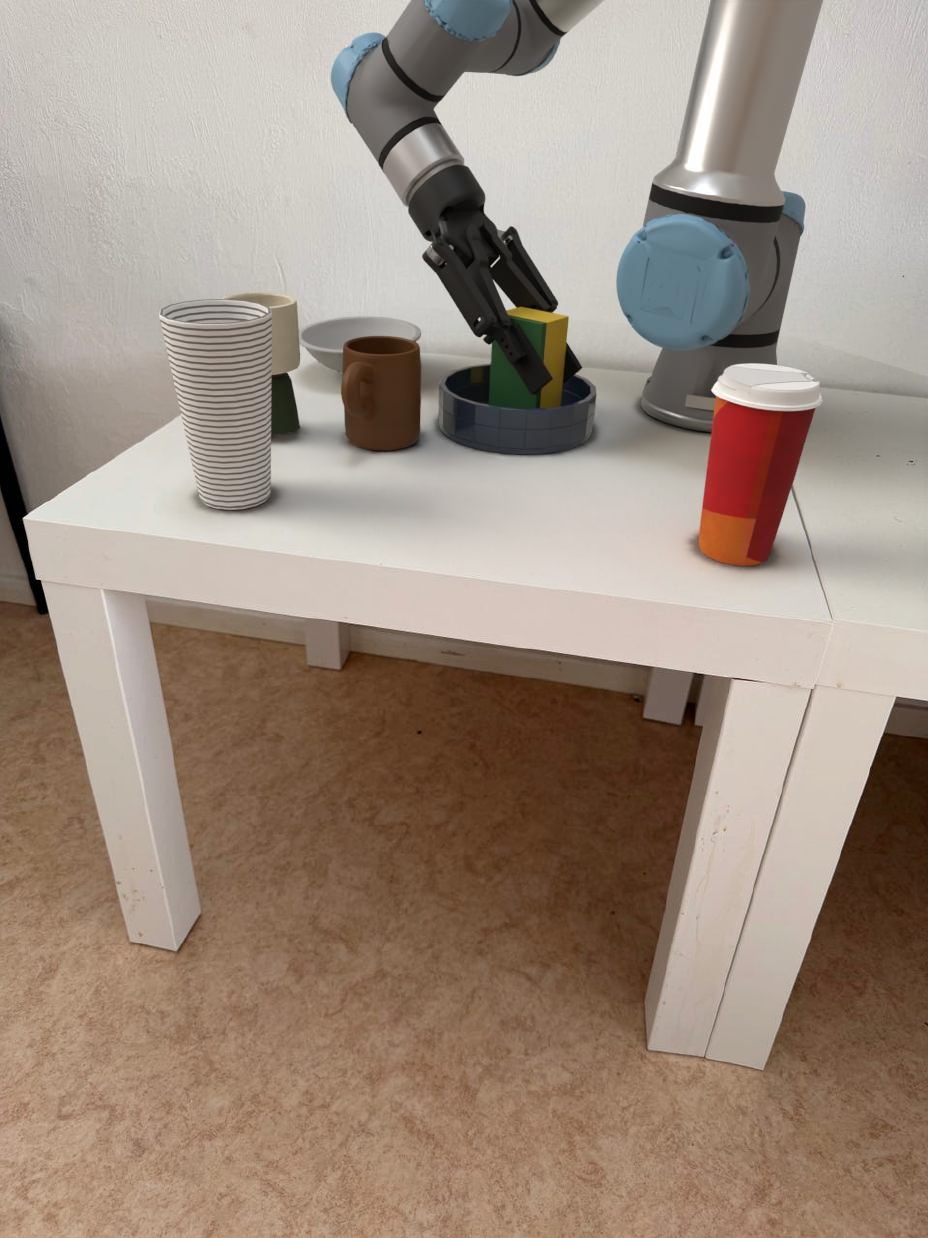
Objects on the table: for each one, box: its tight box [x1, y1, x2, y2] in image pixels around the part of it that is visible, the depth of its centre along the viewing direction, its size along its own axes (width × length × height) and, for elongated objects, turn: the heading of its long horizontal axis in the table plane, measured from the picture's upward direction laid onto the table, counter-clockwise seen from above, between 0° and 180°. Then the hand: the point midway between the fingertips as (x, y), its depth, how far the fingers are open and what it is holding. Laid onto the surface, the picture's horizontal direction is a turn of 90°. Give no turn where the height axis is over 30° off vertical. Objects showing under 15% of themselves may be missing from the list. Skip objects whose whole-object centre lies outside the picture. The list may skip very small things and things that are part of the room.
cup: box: [158, 298, 272, 511], centre depth 72 cm, size 8×8×16 cm
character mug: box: [221, 292, 301, 436], centre depth 87 cm, size 11×7×13 cm, turn 167°
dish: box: [299, 315, 422, 373], centre depth 107 cm, size 18×14×5 cm
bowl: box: [437, 363, 598, 455], centre depth 93 cm, size 16×16×4 cm
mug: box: [340, 336, 422, 452], centre depth 86 cm, size 12×8×9 cm, turn 162°
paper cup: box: [698, 363, 823, 567], centre depth 67 cm, size 8×8×14 cm
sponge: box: [489, 307, 570, 409], centre depth 92 cm, size 5×6×10 cm
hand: (557, 380), depth 91 cm, fingers closed on sponge, 5 cm apart
